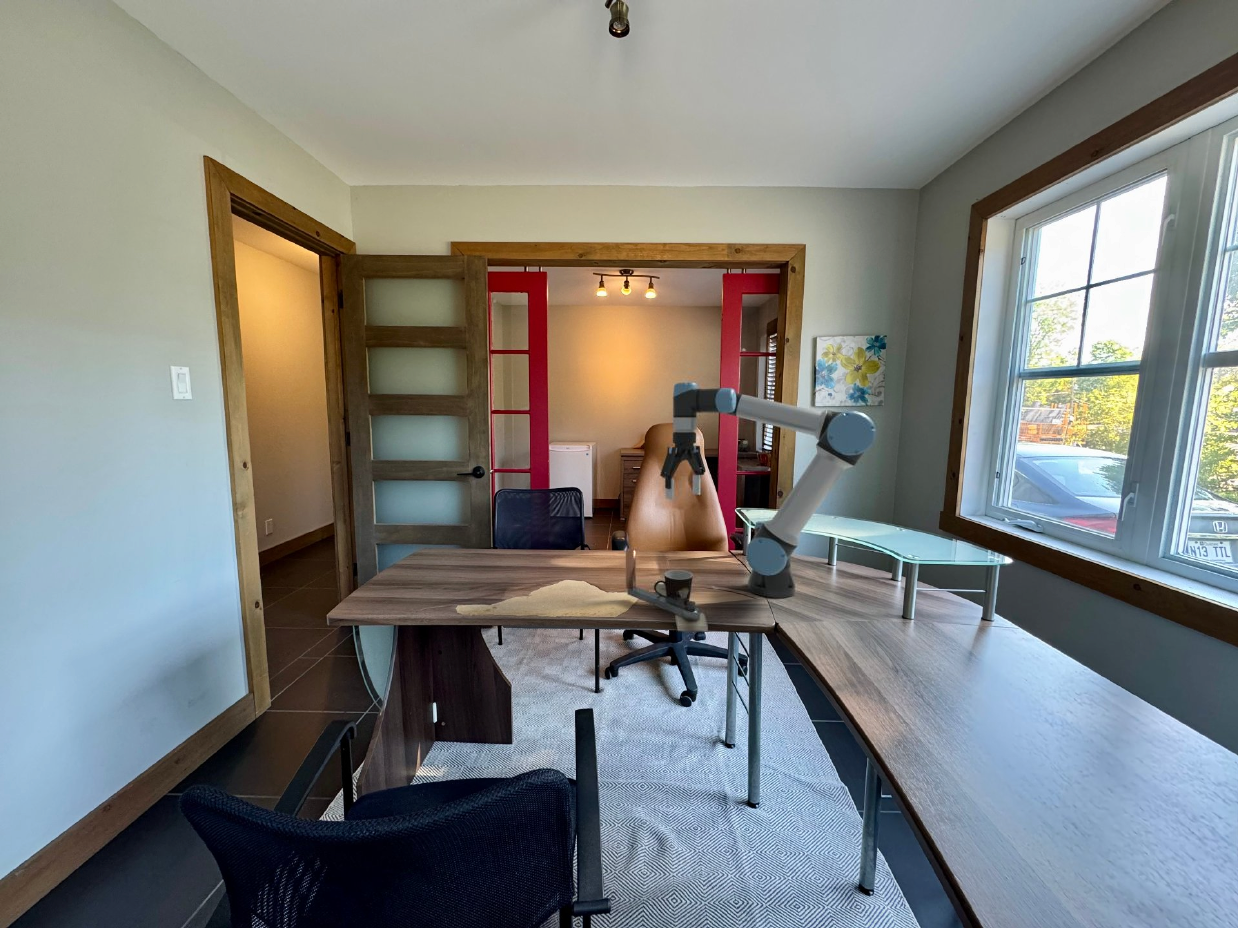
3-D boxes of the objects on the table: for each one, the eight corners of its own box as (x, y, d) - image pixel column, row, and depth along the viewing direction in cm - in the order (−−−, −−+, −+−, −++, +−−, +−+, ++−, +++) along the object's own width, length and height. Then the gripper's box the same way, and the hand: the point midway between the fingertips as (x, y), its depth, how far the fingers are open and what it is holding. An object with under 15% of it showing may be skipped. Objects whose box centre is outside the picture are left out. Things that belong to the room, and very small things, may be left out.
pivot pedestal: (703, 618, 133) (703, 597, 133) (707, 631, 125) (708, 608, 125) (675, 618, 134) (675, 596, 133) (677, 630, 126) (678, 607, 125)
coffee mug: (691, 601, 146) (692, 570, 145) (693, 612, 137) (693, 579, 136) (654, 599, 147) (654, 569, 146) (653, 611, 139) (653, 578, 138)
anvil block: (685, 593, 153) (686, 581, 152) (686, 596, 150) (686, 584, 150) (655, 592, 153) (655, 581, 153) (655, 595, 150) (655, 583, 150)
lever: (706, 617, 130) (708, 566, 129) (692, 624, 126) (693, 571, 125) (635, 590, 151) (636, 546, 149) (621, 595, 146) (621, 550, 145)
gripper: (698, 430, 161) (697, 491, 163) (649, 431, 144) (648, 499, 147) (716, 431, 156) (715, 493, 158) (667, 432, 139) (666, 502, 141)
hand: (683, 496), depth 152 cm, fingers open, 13 cm apart
